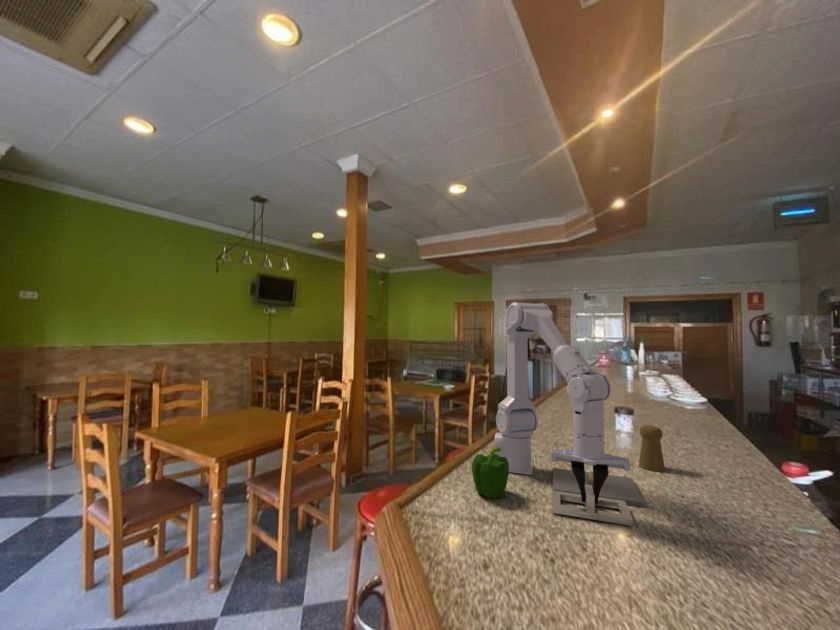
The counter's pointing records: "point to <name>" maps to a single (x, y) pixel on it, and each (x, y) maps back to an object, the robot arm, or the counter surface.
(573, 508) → the double window frame
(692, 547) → the counter surface
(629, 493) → the plate
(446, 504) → the counter surface
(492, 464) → the bell pepper
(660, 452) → the cork
